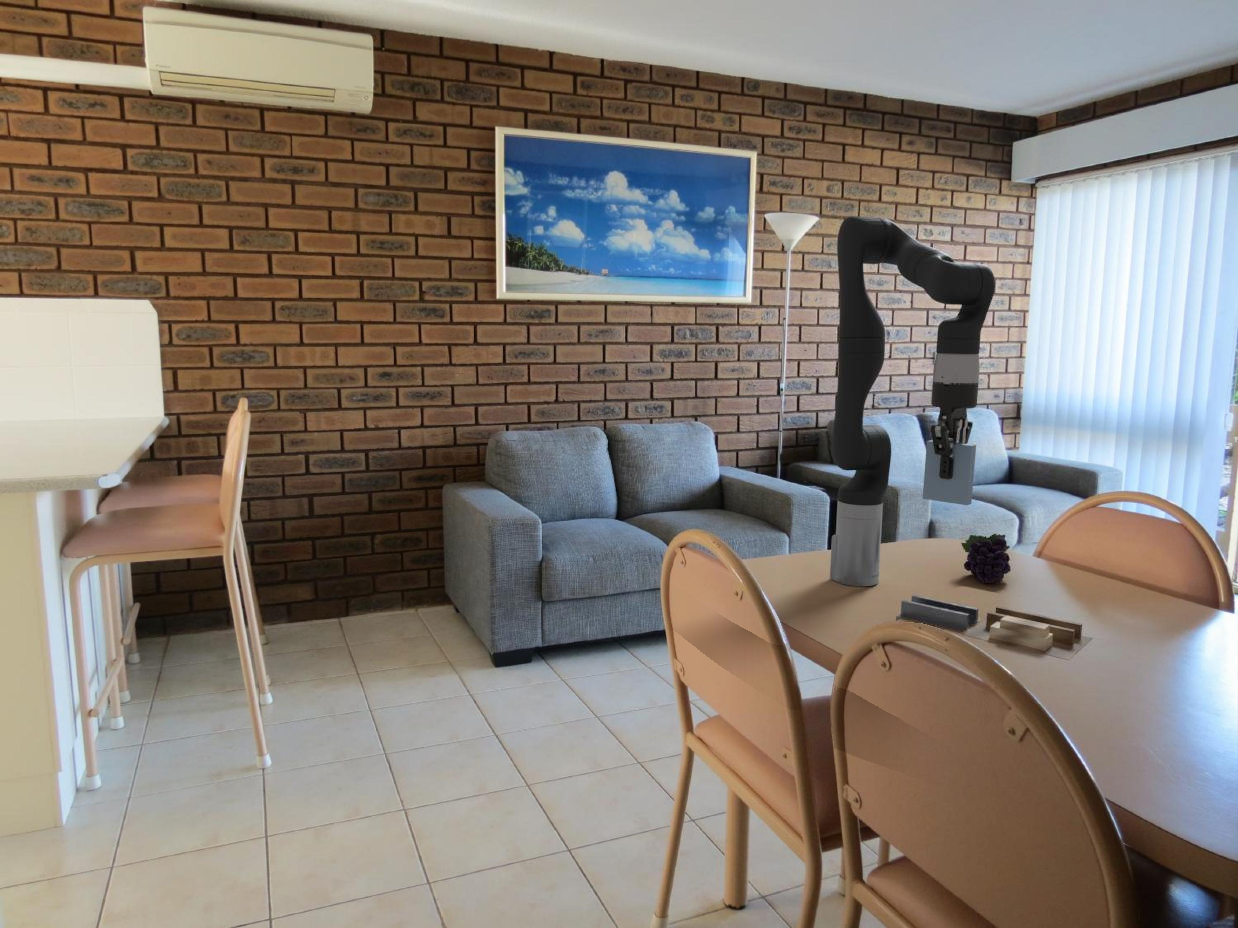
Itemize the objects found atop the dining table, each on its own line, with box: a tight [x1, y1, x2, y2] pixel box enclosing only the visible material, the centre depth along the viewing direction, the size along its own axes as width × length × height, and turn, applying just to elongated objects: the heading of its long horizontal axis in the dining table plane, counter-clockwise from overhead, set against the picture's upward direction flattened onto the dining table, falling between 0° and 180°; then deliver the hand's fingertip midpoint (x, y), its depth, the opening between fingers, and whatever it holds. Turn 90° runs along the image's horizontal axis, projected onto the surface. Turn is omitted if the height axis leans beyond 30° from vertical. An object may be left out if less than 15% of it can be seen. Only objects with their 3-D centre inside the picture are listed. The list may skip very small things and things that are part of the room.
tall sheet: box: [922, 439, 977, 506], centre depth 155 cm, size 8×2×10 cm, turn 48°
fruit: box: [960, 533, 1012, 584], centre depth 188 cm, size 10×11×15 cm
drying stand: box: [895, 594, 981, 633], centre depth 159 cm, size 12×9×4 cm
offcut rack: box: [961, 605, 1094, 661], centre depth 149 cm, size 17×14×4 cm
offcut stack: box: [989, 615, 1053, 651], centre depth 147 cm, size 9×4×4 cm, turn 48°
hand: (948, 477), depth 155 cm, fingers closed on tall sheet, 1 cm apart
